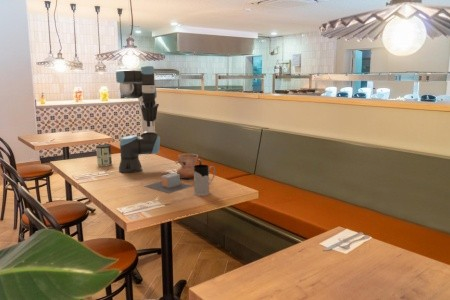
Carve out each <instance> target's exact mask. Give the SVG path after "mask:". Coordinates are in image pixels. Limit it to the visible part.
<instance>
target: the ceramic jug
mask: <svg viewBox="0 0 450 300" xmlns="http://www.w3.org/2000/svg"><path fill="white" fill-rule="evenodd" d="M177 157H178V160H176V161H174V162H175V164H179V165H180V168H178V169H177V170H176V174H180V179H184V180H185V179H186V180H187V179H188V180H190V179H191V180H192V179H194V166H195V165H197V162H199V164H198V165H203V161H202V160H201V158H199V155H198V154H196V153H182V154H178V156H177Z"/></svg>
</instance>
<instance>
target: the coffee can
mask: <svg viewBox="0 0 450 300" xmlns="http://www.w3.org/2000/svg"><path fill="white" fill-rule="evenodd" d="M95 148H96V149H95V150H96V161H97V166H98V167H107V166H111V165H112V164H113V162H112V161H113V160H112V146H111V144H98V145H95Z"/></svg>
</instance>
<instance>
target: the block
mask: <svg viewBox="0 0 450 300" xmlns="http://www.w3.org/2000/svg"><path fill="white" fill-rule="evenodd" d="M160 178H161V181H162V186H164V187H167V188H170V187H174V186H177V185H180V183H181V178H180V174H177V173H176V172H175V173H174V172H172V173H168V174H164V175H161V177H160Z"/></svg>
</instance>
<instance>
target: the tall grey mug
mask: <svg viewBox="0 0 450 300" xmlns="http://www.w3.org/2000/svg"><path fill="white" fill-rule="evenodd" d="M211 168H213V174H212V175H213V176H212V178H211V180H210V179H209V178H210V176H209V175H210V172H211V171H210V170H211ZM215 174H216V168H215V166H214V165H211V166H209V165H208V164H202V165H199V164H196V165H195V166H194V178H193V182H194V183H193V186H194V187H193V189H194V191H193V195H194V196H199V197H201V196H202V197H204V196H208V195H210V194H211V193H210V185H211V183H213V182H212V181H213V180H214V179H215V176H216V175H215Z"/></svg>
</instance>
